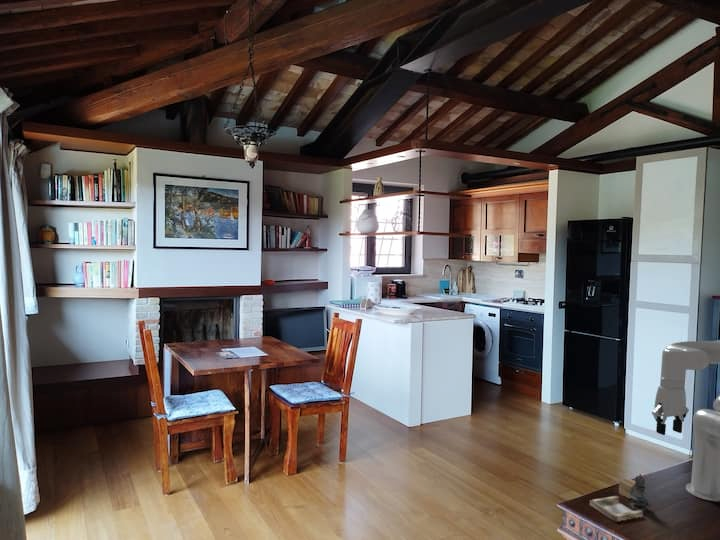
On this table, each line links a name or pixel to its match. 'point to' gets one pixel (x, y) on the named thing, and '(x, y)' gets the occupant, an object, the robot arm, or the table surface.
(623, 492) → the oak block
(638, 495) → the grey chess piece
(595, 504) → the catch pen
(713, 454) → the robot arm
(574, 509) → the table surface
